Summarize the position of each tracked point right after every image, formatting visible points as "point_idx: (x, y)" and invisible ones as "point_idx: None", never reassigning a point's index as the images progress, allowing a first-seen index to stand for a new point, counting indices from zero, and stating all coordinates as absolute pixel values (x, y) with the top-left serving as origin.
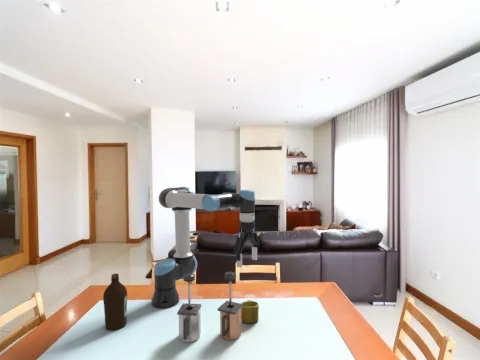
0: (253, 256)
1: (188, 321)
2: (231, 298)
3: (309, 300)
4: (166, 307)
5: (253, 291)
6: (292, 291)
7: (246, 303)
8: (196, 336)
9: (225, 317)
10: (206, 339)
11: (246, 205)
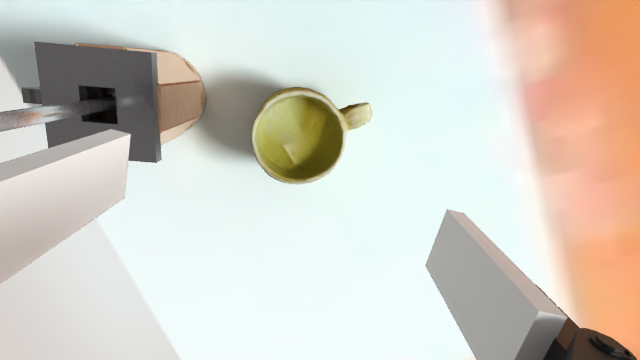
0: (452, 249)
1: None
2: (68, 117)
3: None
4: None
5: (593, 48)
6: (617, 234)
7: (328, 110)
8: None
9: (41, 103)
10: (84, 10)
11: None
